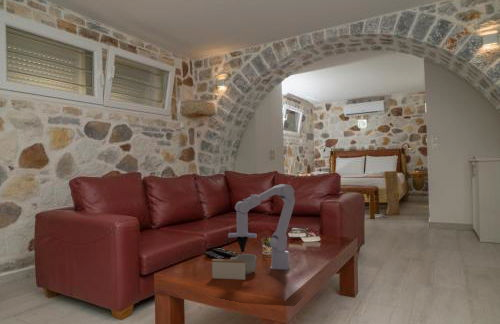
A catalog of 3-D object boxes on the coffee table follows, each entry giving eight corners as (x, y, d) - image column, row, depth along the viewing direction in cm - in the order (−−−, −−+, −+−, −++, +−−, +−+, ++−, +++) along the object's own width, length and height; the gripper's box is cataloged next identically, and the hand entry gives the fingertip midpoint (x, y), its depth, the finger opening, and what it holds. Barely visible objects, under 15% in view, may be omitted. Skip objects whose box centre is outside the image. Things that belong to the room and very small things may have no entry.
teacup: (259, 269, 173) (258, 254, 173) (253, 276, 162) (253, 260, 162) (233, 268, 176) (233, 253, 176) (226, 274, 166) (226, 258, 166)
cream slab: (245, 278, 160) (245, 260, 160) (245, 279, 158) (244, 261, 158) (213, 277, 163) (212, 259, 163) (211, 278, 161) (211, 260, 161)
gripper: (257, 223, 172) (258, 250, 172) (230, 223, 175) (230, 249, 175) (255, 226, 165) (255, 253, 165) (226, 225, 168) (227, 252, 168)
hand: (242, 251), depth 169 cm, fingers closed
